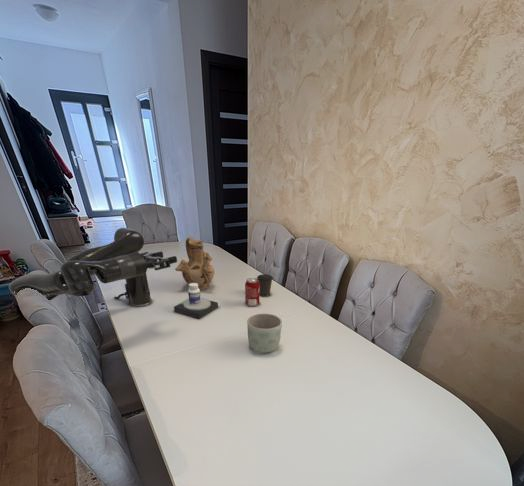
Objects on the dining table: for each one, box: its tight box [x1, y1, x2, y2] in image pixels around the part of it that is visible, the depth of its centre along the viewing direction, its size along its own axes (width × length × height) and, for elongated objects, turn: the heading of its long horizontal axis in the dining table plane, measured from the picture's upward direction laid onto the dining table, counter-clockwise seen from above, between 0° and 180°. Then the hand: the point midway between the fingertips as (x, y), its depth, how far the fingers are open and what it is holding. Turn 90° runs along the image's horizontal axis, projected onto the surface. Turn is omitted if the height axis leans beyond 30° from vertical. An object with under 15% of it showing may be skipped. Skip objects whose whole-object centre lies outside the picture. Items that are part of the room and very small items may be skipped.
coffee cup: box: [256, 273, 274, 297], centre depth 155 cm, size 8×8×10 cm
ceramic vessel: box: [174, 236, 215, 291], centre depth 157 cm, size 18×19×25 cm
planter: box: [246, 312, 283, 354], centre depth 112 cm, size 12×12×11 cm
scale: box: [173, 297, 219, 320], centre depth 140 cm, size 14×14×3 cm
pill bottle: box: [187, 283, 202, 305], centre depth 136 cm, size 5×5×9 cm
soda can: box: [244, 277, 261, 307], centre depth 144 cm, size 7×7×12 cm
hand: (169, 256), depth 114 cm, fingers open, 8 cm apart
